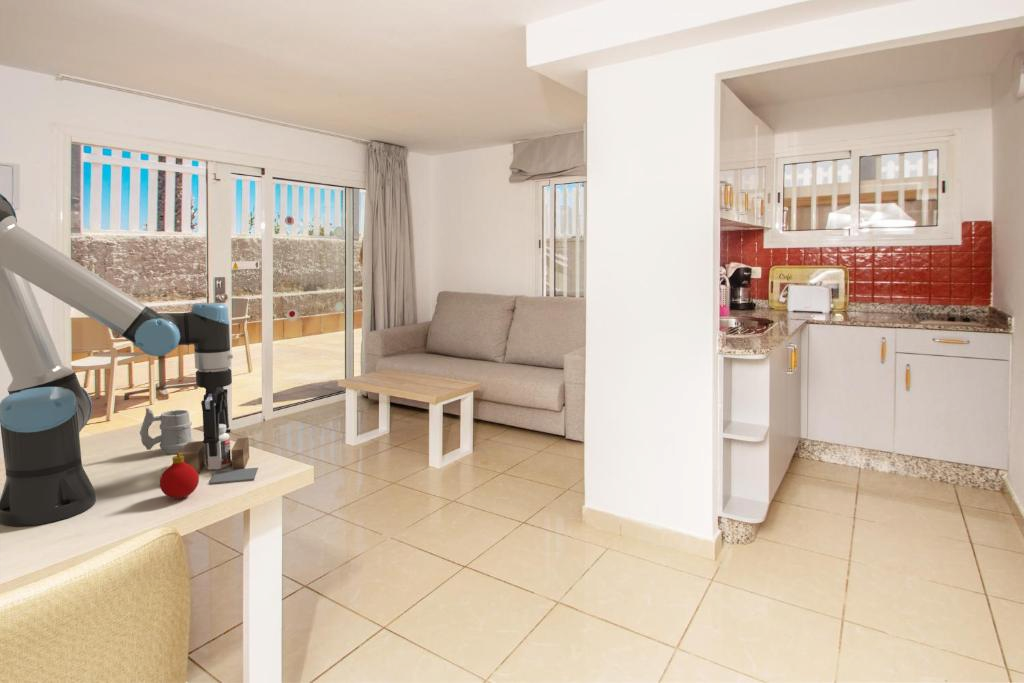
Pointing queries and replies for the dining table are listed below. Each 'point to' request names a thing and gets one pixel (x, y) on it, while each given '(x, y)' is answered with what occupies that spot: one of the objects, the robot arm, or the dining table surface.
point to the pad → (234, 475)
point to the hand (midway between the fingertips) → (218, 464)
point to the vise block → (197, 457)
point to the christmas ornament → (179, 478)
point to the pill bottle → (222, 447)
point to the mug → (168, 430)
